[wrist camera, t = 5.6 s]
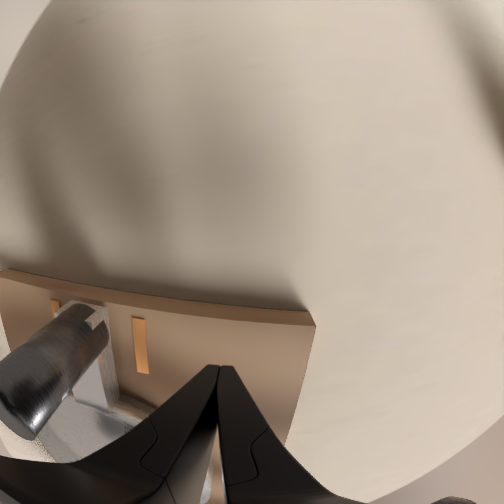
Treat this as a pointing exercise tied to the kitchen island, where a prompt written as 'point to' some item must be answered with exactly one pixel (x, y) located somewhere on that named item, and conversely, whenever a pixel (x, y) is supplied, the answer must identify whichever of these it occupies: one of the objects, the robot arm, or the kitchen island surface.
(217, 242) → the kitchen island surface
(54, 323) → the silver disc with handle
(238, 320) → the walnut board
